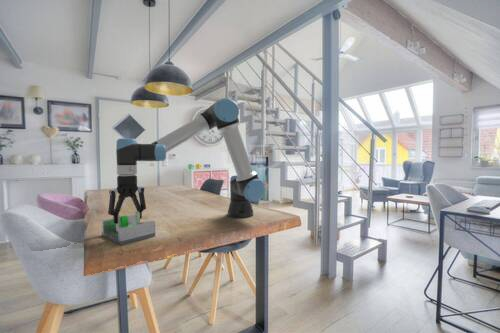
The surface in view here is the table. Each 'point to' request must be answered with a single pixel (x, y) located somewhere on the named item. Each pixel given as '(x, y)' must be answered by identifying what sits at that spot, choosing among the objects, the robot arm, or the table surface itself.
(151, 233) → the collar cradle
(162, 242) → the table surface
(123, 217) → the mechanical part
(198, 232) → the table surface
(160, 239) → the table surface
